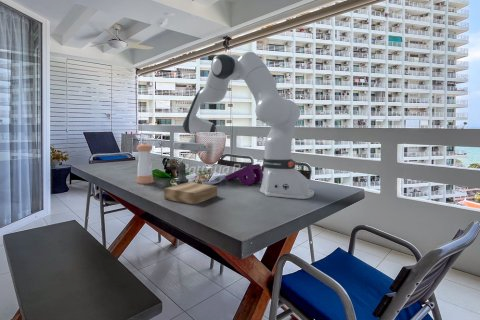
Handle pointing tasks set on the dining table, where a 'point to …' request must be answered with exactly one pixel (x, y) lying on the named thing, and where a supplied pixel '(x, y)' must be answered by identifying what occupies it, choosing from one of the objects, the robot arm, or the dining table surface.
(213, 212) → the dining table surface
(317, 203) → the dining table surface
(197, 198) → the stand
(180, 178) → the dark grey upright piece
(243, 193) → the dining table surface
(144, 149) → the salt shaker
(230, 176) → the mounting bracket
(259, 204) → the dining table surface
